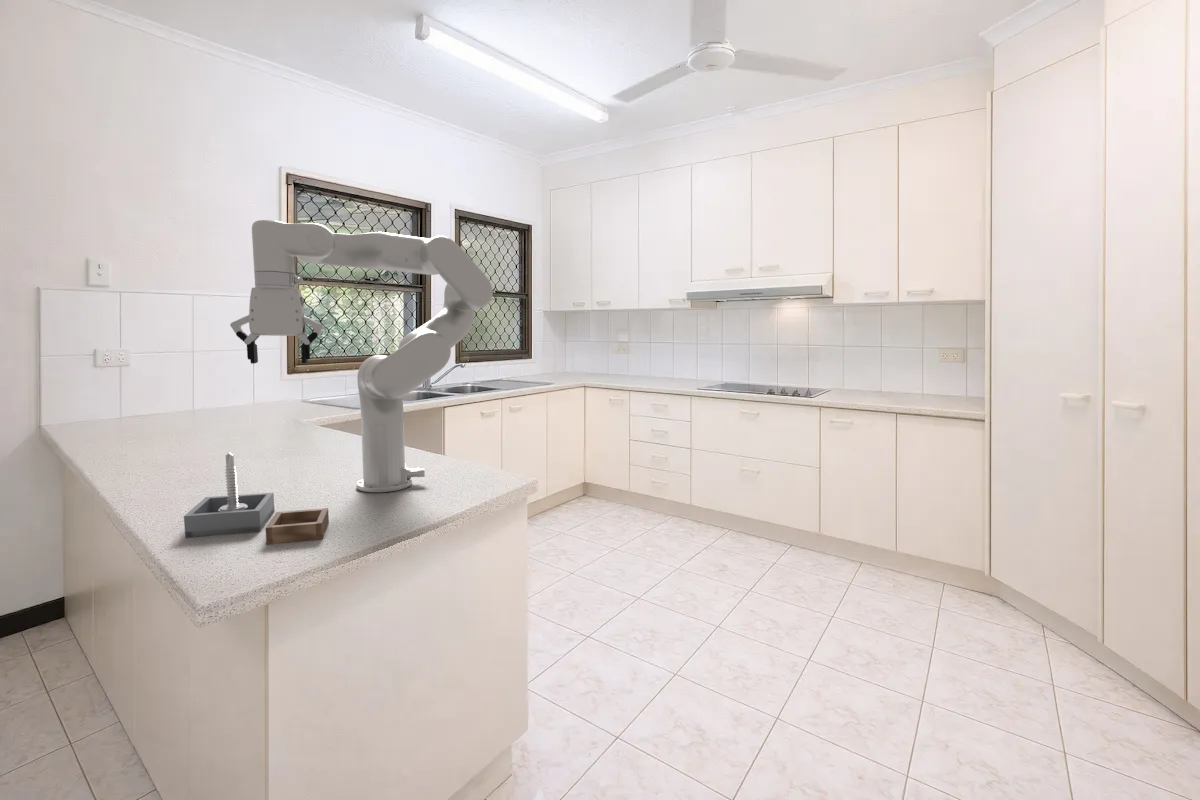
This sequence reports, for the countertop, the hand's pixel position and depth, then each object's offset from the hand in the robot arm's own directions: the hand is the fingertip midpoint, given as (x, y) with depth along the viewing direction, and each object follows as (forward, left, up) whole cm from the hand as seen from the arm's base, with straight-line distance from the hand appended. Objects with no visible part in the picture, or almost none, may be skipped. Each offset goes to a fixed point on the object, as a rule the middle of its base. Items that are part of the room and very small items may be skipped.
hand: (279, 363), depth 122 cm
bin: (+7, +14, -30) cm, 34 cm away
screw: (+7, +14, -30) cm, 33 cm away
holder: (-6, +23, -30) cm, 39 cm away
